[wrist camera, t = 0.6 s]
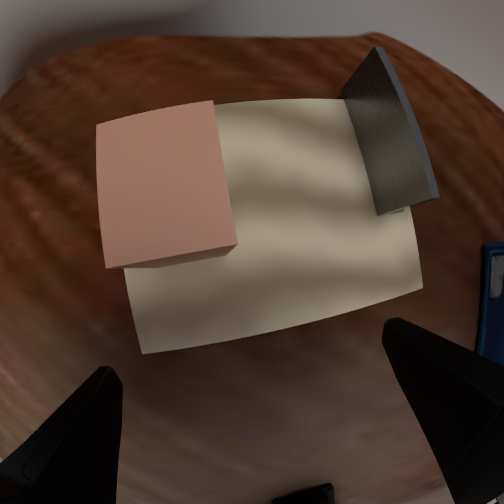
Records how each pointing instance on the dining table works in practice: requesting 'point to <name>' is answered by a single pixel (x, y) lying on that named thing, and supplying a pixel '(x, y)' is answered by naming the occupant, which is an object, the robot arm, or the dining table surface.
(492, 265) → the book
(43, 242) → the dining table surface
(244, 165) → the beige cloth placemat
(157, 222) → the salmon pink rectangular block
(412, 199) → the bookend
